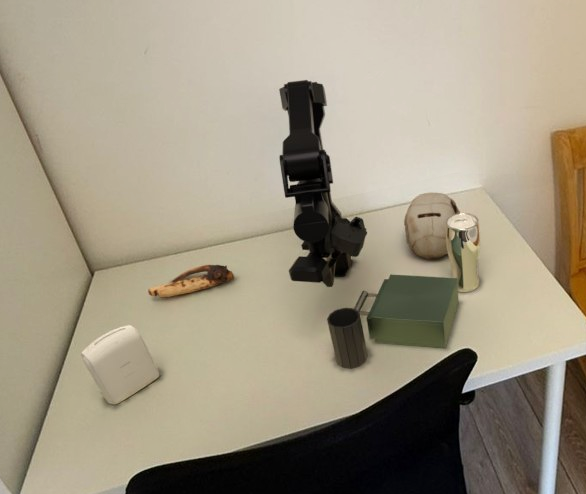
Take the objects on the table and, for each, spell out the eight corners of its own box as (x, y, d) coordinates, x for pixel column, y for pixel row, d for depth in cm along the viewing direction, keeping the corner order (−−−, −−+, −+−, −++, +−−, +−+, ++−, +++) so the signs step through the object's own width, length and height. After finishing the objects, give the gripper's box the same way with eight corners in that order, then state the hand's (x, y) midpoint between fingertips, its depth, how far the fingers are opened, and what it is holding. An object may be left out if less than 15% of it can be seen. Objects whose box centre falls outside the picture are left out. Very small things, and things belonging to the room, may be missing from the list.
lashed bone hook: (232, 267, 146) (151, 286, 142) (227, 249, 143) (144, 268, 139) (237, 287, 139) (151, 307, 135) (231, 268, 136) (144, 288, 132)
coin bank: (441, 217, 156) (439, 169, 146) (482, 252, 145) (483, 203, 136) (386, 240, 150) (380, 191, 141) (424, 278, 140) (421, 229, 130)
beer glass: (479, 294, 130) (476, 230, 121) (445, 292, 131) (441, 229, 122) (483, 275, 135) (481, 212, 126) (451, 274, 137) (447, 211, 127)
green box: (375, 342, 121) (370, 317, 117) (393, 299, 131) (390, 274, 127) (445, 348, 118) (443, 322, 114) (458, 303, 128) (457, 278, 124)
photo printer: (113, 409, 112) (84, 356, 104) (101, 398, 114) (71, 346, 106) (164, 376, 117) (140, 324, 110) (152, 367, 120) (127, 315, 112)
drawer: (349, 335, 122) (345, 316, 119) (368, 296, 131) (365, 277, 128) (434, 342, 118) (433, 322, 115) (447, 301, 128) (446, 282, 125)
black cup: (332, 366, 116) (322, 326, 110) (342, 346, 120) (333, 306, 114) (362, 369, 115) (354, 328, 109) (371, 349, 119) (363, 308, 113)
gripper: (341, 243, 104) (355, 318, 114) (372, 191, 118) (382, 262, 128) (279, 240, 107) (298, 313, 117) (316, 189, 121) (330, 259, 130)
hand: (330, 286), depth 123 cm, fingers closed
